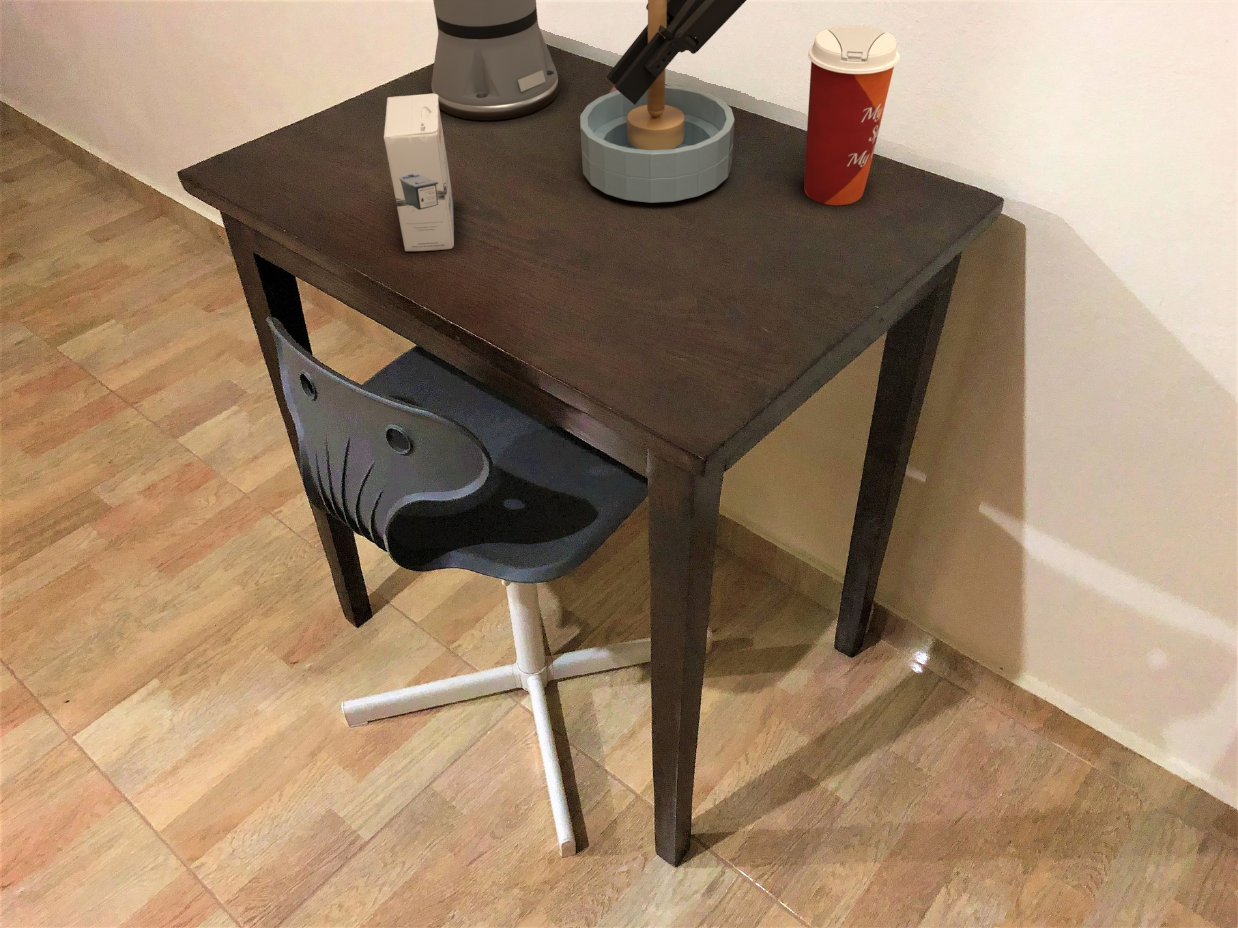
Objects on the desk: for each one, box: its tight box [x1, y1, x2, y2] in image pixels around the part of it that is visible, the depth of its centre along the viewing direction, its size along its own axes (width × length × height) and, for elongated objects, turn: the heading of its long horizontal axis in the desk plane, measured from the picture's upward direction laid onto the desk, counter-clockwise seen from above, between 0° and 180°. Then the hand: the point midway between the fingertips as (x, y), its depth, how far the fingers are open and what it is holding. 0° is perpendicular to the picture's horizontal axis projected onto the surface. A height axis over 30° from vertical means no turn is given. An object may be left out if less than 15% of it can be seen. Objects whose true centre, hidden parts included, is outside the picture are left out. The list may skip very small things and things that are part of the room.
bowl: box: [579, 84, 736, 204], centre depth 97 cm, size 16×16×6 cm
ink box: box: [383, 93, 455, 252], centre depth 88 cm, size 9×5×12 cm, turn 7°
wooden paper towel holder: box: [627, 0, 685, 150], centre depth 92 cm, size 6×6×17 cm
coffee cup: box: [803, 25, 900, 206], centre depth 90 cm, size 8×8×15 cm
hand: (620, 90), depth 93 cm, fingers closed on wooden paper towel holder, 2 cm apart
